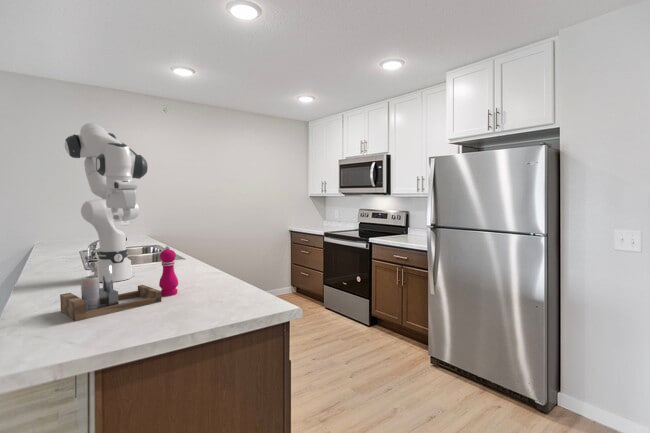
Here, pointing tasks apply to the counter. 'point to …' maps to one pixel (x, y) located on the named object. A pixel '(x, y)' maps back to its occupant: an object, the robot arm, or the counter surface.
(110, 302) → the press jaw
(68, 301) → the press frame
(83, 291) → the energy drink
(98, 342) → the counter surface
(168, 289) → the pepper mill
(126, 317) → the counter surface
